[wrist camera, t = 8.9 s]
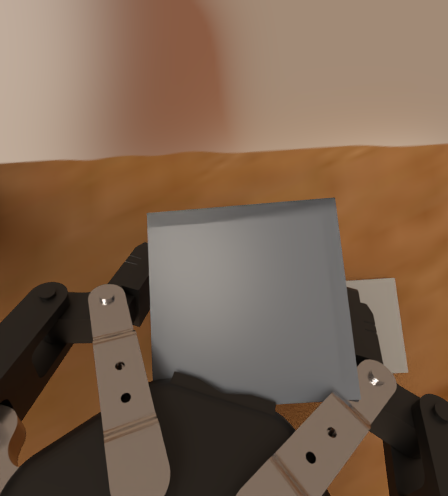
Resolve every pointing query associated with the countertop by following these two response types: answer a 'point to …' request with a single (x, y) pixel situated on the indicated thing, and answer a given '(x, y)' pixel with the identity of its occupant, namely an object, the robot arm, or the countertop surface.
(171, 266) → the grey upright block
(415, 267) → the countertop surface
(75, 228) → the countertop surface
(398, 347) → the rubber mat
